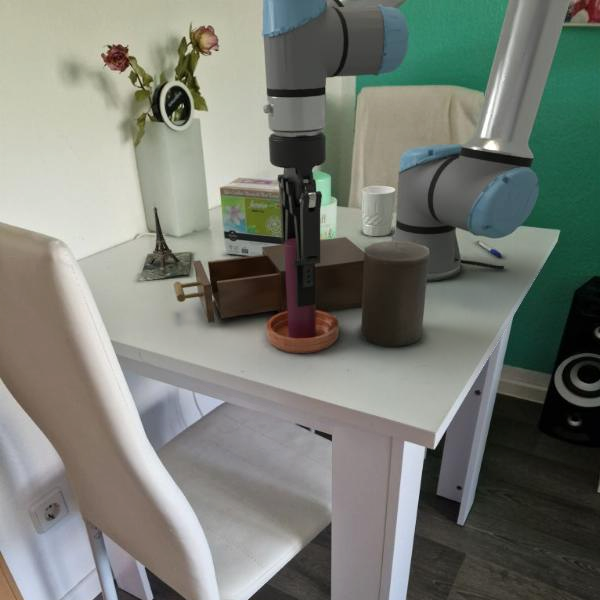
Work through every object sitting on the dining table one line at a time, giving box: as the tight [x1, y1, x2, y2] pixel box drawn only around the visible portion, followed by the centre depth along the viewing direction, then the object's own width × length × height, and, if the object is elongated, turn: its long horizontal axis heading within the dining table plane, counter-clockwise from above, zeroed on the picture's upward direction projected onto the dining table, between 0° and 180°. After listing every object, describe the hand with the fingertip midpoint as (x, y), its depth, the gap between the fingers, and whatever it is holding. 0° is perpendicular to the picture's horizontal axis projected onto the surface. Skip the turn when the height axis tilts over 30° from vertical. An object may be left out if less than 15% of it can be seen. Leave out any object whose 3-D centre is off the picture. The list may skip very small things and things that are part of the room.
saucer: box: [265, 310, 340, 354], centre depth 89 cm, size 11×11×2 cm
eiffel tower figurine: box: [139, 202, 192, 282], centre depth 116 cm, size 15×10×13 cm
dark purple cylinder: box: [284, 238, 316, 338], centre depth 85 cm, size 4×4×15 cm
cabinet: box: [262, 236, 364, 314], centre depth 101 cm, size 16×13×8 cm
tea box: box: [219, 177, 284, 257], centre depth 122 cm, size 15×10×15 cm, turn 70°
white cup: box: [361, 185, 397, 237], centre depth 133 cm, size 8×8×10 cm
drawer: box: [173, 254, 281, 324], centre depth 97 cm, size 20×12×7 cm, turn 106°
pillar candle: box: [360, 240, 429, 348], centre depth 86 cm, size 10×10×15 cm
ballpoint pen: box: [477, 240, 503, 259], centre depth 122 cm, size 10×1×1 cm, turn 13°
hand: (301, 298), depth 86 cm, fingers closed on dark purple cylinder, 4 cm apart
